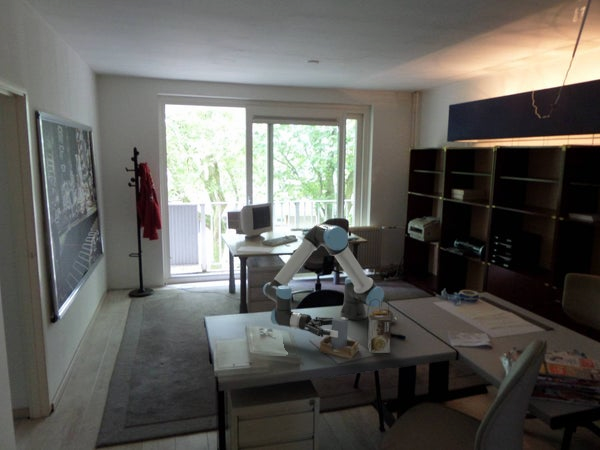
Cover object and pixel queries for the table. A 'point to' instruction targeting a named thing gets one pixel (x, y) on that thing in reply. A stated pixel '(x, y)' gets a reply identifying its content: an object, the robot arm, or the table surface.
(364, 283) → the robot arm
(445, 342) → the table surface
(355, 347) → the pocket tray
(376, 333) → the coffee box
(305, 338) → the table surface
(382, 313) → the multimeter
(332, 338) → the blue-grey rectangular block
